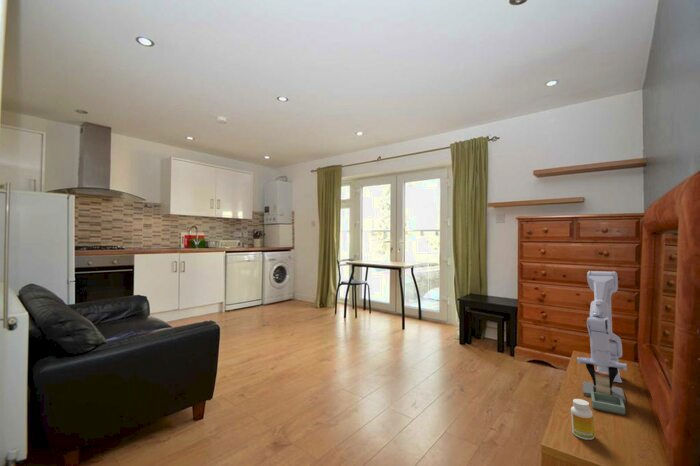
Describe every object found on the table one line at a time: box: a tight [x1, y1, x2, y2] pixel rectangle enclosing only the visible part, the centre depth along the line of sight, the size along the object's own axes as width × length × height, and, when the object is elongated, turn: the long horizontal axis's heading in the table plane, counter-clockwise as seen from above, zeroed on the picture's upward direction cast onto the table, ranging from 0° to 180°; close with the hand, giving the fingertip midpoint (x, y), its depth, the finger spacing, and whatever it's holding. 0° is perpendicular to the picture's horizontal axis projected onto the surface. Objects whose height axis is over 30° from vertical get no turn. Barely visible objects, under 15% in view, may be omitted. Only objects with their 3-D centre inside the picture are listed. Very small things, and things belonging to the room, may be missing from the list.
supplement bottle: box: [570, 398, 595, 441], centre depth 95 cm, size 5×5×10 cm
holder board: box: [582, 380, 627, 404], centre depth 119 cm, size 11×12×1 cm
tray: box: [590, 391, 626, 416], centre depth 110 cm, size 9×9×2 cm
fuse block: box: [595, 370, 611, 395], centre depth 119 cm, size 4×4×7 cm
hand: (602, 385), depth 119 cm, fingers closed on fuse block, 4 cm apart
